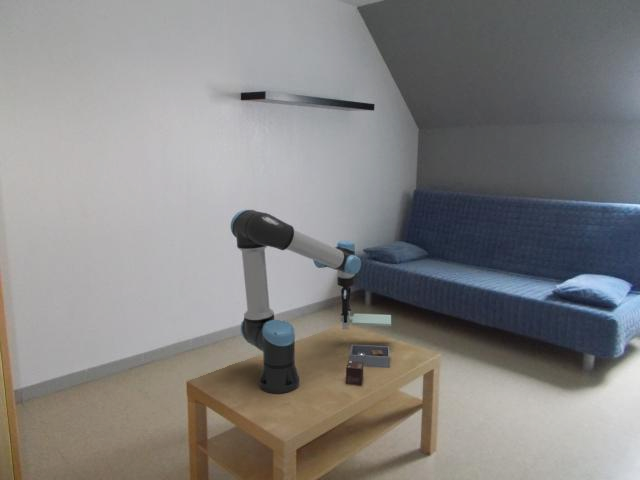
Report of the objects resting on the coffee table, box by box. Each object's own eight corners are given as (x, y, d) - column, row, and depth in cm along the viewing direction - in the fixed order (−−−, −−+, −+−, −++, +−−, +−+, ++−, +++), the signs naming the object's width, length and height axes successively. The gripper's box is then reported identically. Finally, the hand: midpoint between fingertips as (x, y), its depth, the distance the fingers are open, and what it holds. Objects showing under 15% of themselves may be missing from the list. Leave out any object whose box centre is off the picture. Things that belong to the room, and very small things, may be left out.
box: (361, 387, 184) (361, 368, 182) (345, 385, 185) (345, 367, 184) (363, 379, 190) (363, 361, 188) (347, 378, 191) (348, 360, 189)
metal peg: (356, 362, 203) (356, 354, 203) (358, 359, 206) (358, 351, 206) (364, 363, 202) (364, 355, 202) (365, 360, 205) (366, 352, 205)
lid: (339, 324, 214) (339, 316, 213) (341, 315, 225) (341, 307, 224) (391, 326, 211) (391, 318, 210) (390, 317, 222) (391, 309, 221)
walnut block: (373, 363, 202) (373, 354, 202) (371, 359, 206) (371, 350, 206) (382, 362, 203) (383, 353, 202) (380, 358, 207) (380, 349, 206)
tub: (349, 366, 201) (349, 355, 200) (351, 355, 211) (351, 344, 211) (389, 368, 199) (389, 357, 198) (389, 357, 209) (389, 346, 208)
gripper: (353, 281, 206) (353, 334, 211) (355, 271, 223) (355, 320, 227) (335, 281, 207) (335, 333, 212) (339, 271, 224) (339, 320, 228)
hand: (345, 327), depth 220 cm, fingers closed on lid, 4 cm apart
